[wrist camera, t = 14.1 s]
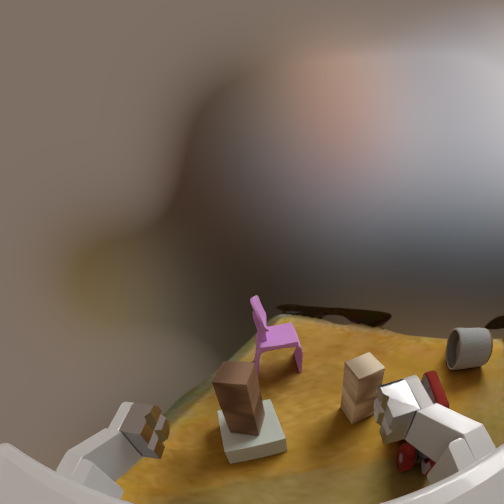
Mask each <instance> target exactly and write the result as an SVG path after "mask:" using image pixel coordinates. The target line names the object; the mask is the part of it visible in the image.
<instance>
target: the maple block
mask: <svg viewBox="0 0 504 504" xmlns="http://www.w3.org/2000/svg"><path fill="white" fill-rule="evenodd" d="M384 370H385V367H384V366H383V365H382V364H381V363H380V362H379V361H378V360H377V359H376V358H375V357H374V356H373V355H372V354H371V353H370V352H369V353H366V354H364V355H361V356H359V357H356V358H353V359H351V360H348V361H345V366H344V378H343V389H342V399H341V409H342V410H343V412H344V413H345V415H346V416H347V418H348V419H349V421H350V422H351V424H353V423H355V422H358V421H360V420H362V419H364V418H366V417H369V416H371V415H373V414H374V400H375V399H376V398H377V395H376V389H377V387H378V386H380V385H382V380H383V375H384Z"/></svg>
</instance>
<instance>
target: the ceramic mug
mask: <svg viewBox="0 0 504 504" xmlns="http://www.w3.org/2000/svg"><path fill="white" fill-rule="evenodd" d="M492 348H493V340H492V335H491V333H490V331H489V330H488V329H484V328H454V329H453V330H452V331H451V333H450V335H449V337H448V341H447V347H446V362H447V366H448V368H449V369H450V370H457V369H466V368H473V367H479V366H482V365H484V364H486V363H487V362H488V360H489V358H490V356H491V353H492Z"/></svg>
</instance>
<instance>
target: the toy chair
mask: <svg viewBox="0 0 504 504" xmlns="http://www.w3.org/2000/svg"><path fill="white" fill-rule="evenodd" d="M250 302H251V305H252V307H253V309H254V311H253V318H254V321H255V324H256V328H257V331H258V333H257V336H256V354H255V359H254V361H255V367H256V372H257V377H258V371H259V359H260V355H261V354H262V353H263V352H266V351H270V350H275V349H280V348H289V347H296V349H295V351H294V356H295V359H296V363H297V366H298V370H299V373H301V371H302V358H303V354H302V348H301V345H300V342H299V339H298V336H297V333H296V331H295V329H294V327H293V325H292V323H286V324H282V325H277V326H269V327H267V326H266V313H265V311H264V309H263V307H262V305H261V303H260V300H259V297H258V296H257V295H256V296H253V297H252V298H251V299H250Z"/></svg>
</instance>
